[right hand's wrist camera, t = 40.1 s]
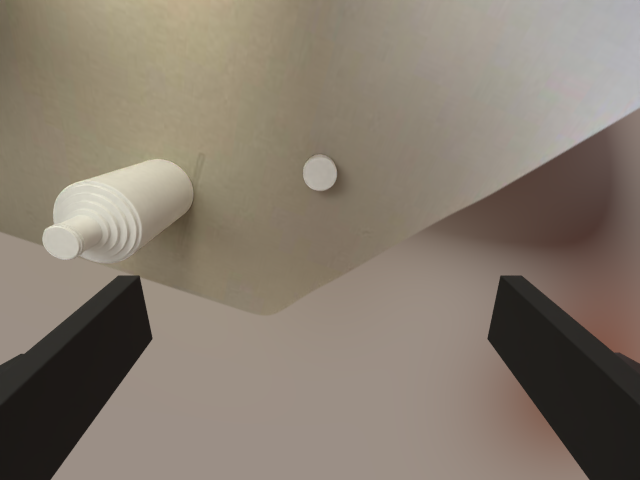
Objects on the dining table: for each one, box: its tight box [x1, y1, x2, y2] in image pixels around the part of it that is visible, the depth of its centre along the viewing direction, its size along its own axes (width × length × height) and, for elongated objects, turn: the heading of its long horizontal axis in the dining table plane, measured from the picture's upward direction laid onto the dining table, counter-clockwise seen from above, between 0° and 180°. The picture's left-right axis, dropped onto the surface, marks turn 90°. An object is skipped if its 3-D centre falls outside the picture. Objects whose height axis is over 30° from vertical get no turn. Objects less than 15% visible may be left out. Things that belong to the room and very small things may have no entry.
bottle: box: [42, 159, 194, 263], centre depth 34 cm, size 7×7×18 cm
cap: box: [303, 154, 337, 191], centre depth 40 cm, size 4×4×2 cm
